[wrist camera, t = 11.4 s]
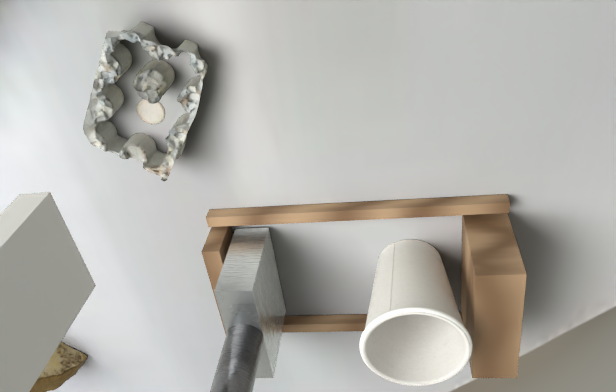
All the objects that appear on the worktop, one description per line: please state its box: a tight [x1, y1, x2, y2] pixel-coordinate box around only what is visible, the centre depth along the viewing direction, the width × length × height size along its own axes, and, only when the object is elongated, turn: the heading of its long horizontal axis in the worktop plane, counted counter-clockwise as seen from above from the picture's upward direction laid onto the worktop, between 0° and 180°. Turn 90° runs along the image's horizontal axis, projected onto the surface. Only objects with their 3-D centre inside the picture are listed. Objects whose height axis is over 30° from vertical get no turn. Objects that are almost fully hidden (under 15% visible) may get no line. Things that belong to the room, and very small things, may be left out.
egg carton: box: [83, 22, 208, 181], centre depth 44 cm, size 11×8×4 cm
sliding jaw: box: [210, 228, 286, 392], centre depth 45 cm, size 3×10×22 cm, turn 7°
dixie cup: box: [360, 239, 472, 386], centre depth 48 cm, size 8×8×10 cm
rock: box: [30, 342, 87, 392], centre depth 61 cm, size 11×9×10 cm
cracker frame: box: [202, 194, 527, 378], centre depth 49 cm, size 25×14×8 cm, turn 97°
